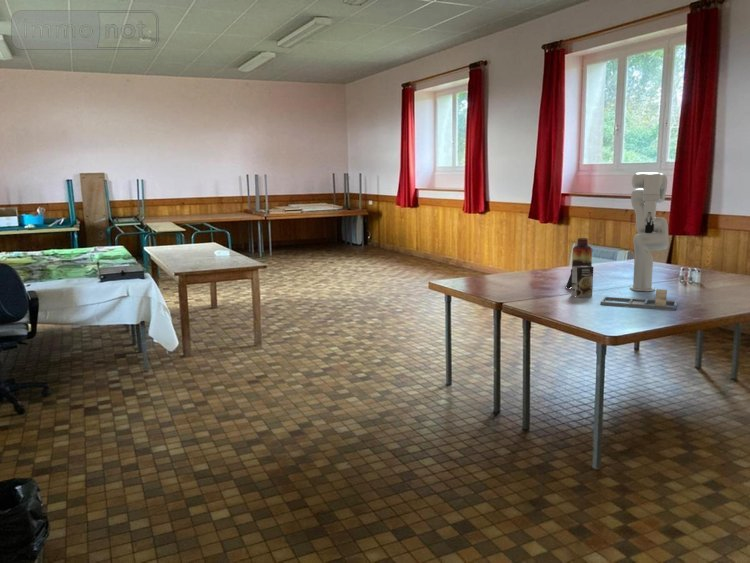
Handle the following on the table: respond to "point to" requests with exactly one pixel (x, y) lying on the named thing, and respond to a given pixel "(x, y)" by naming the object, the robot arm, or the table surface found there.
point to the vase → (582, 253)
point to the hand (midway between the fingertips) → (649, 232)
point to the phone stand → (569, 281)
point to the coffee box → (582, 281)
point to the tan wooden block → (661, 297)
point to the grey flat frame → (638, 303)
